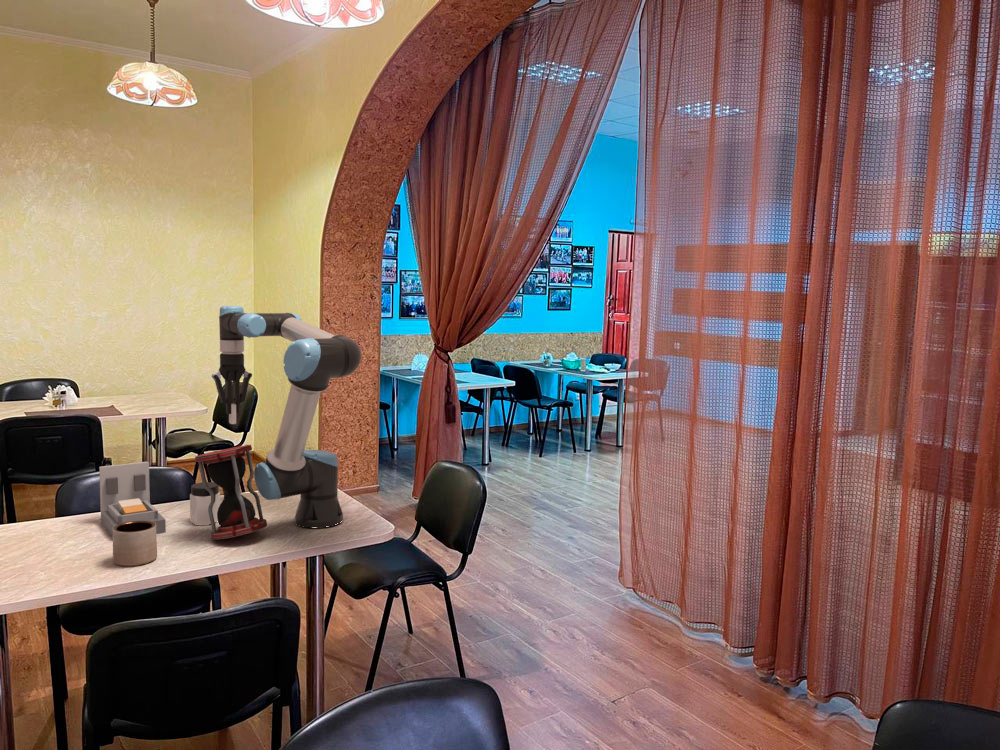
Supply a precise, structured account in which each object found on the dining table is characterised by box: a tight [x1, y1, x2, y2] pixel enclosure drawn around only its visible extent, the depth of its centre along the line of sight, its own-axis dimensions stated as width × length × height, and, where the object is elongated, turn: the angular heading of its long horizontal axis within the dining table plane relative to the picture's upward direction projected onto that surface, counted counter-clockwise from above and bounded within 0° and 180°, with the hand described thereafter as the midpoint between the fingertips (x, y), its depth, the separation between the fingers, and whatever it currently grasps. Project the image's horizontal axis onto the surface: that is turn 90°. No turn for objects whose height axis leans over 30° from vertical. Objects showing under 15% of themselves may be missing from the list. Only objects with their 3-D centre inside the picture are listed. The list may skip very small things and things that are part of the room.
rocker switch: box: [118, 498, 147, 515], centre depth 234 cm, size 10×6×2 cm, turn 38°
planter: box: [112, 521, 158, 567], centre depth 207 cm, size 11×11×10 cm
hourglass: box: [194, 444, 268, 541], centre depth 227 cm, size 16×16×25 cm
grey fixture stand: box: [98, 461, 167, 538], centre depth 234 cm, size 20×14×18 cm
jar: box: [189, 481, 221, 526], centre depth 241 cm, size 9×8×12 cm
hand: (232, 423), depth 253 cm, fingers closed
